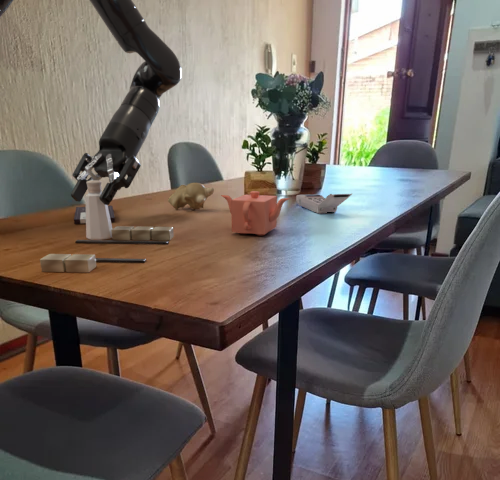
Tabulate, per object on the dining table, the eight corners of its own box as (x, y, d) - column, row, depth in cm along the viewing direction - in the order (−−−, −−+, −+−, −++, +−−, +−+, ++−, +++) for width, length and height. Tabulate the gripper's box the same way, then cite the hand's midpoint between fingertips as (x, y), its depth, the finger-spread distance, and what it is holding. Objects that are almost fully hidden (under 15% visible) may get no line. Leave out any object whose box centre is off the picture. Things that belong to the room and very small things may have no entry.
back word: (75, 243, 98) (74, 232, 97) (88, 235, 104) (86, 225, 104) (167, 244, 97) (166, 234, 96) (174, 236, 103) (174, 226, 103)
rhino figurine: (184, 183, 137) (212, 173, 128) (196, 207, 140) (223, 199, 131) (162, 195, 132) (189, 185, 124) (175, 220, 135) (202, 212, 126)
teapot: (231, 224, 115) (231, 186, 111) (296, 229, 110) (297, 189, 107) (210, 235, 104) (209, 193, 101) (280, 240, 100) (281, 197, 96)
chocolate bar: (112, 205, 133) (114, 217, 117) (112, 209, 133) (115, 221, 117) (76, 207, 131) (73, 219, 115) (76, 210, 131) (74, 223, 115)
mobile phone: (330, 194, 118) (292, 181, 140) (328, 219, 120) (291, 203, 142) (354, 193, 120) (312, 181, 142) (351, 218, 122) (311, 202, 144)
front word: (41, 271, 80) (39, 259, 79) (60, 259, 87) (58, 248, 86) (134, 273, 79) (133, 260, 78) (146, 261, 86) (145, 249, 85)
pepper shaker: (98, 233, 106) (92, 178, 102) (119, 235, 104) (114, 180, 100) (80, 238, 102) (73, 181, 97) (101, 241, 99) (95, 183, 95)
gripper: (88, 120, 103) (50, 185, 99) (142, 120, 97) (104, 190, 92) (110, 146, 110) (75, 209, 105) (162, 148, 103) (127, 215, 98)
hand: (89, 200), depth 98 cm, fingers open, 7 cm apart
